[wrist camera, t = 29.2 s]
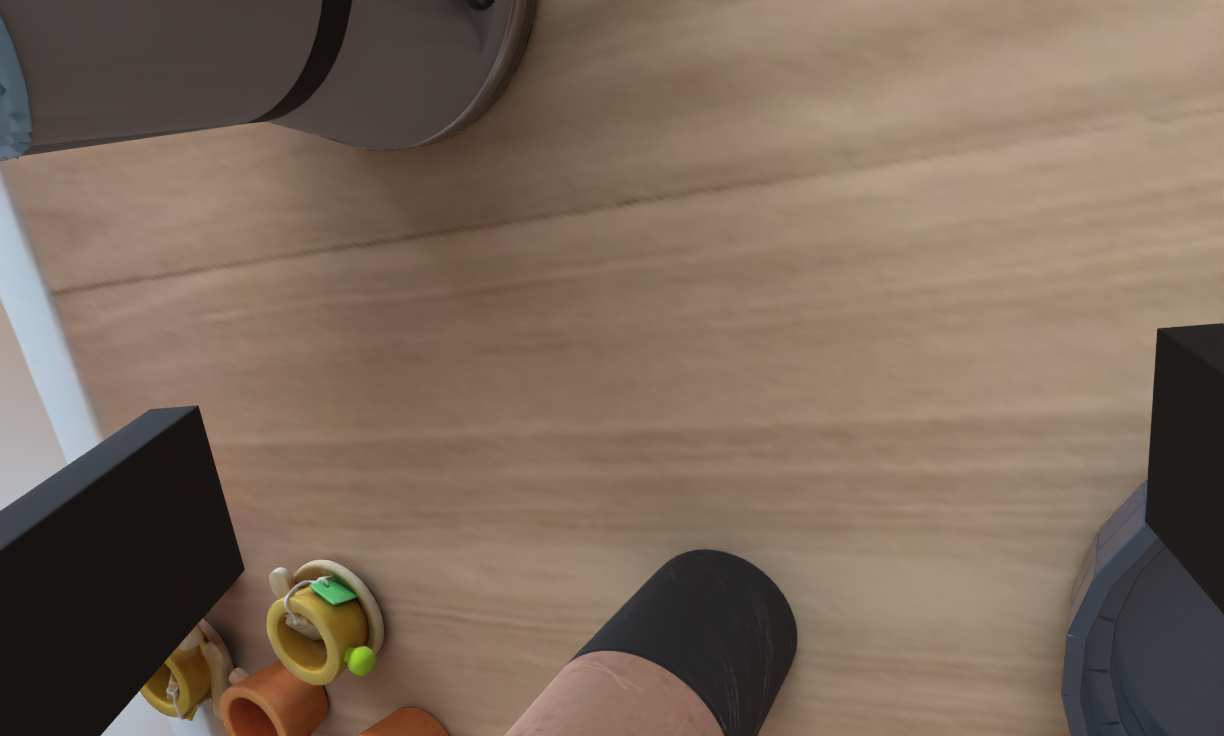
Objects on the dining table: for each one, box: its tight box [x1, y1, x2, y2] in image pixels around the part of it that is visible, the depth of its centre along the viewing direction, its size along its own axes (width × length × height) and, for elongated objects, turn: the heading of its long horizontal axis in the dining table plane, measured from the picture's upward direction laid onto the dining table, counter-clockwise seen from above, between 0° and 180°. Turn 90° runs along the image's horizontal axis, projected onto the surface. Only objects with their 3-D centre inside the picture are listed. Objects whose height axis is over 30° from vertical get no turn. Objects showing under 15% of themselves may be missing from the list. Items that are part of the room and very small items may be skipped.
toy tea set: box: [140, 560, 449, 736], centre depth 55 cm, size 26×16×10 cm, turn 88°
